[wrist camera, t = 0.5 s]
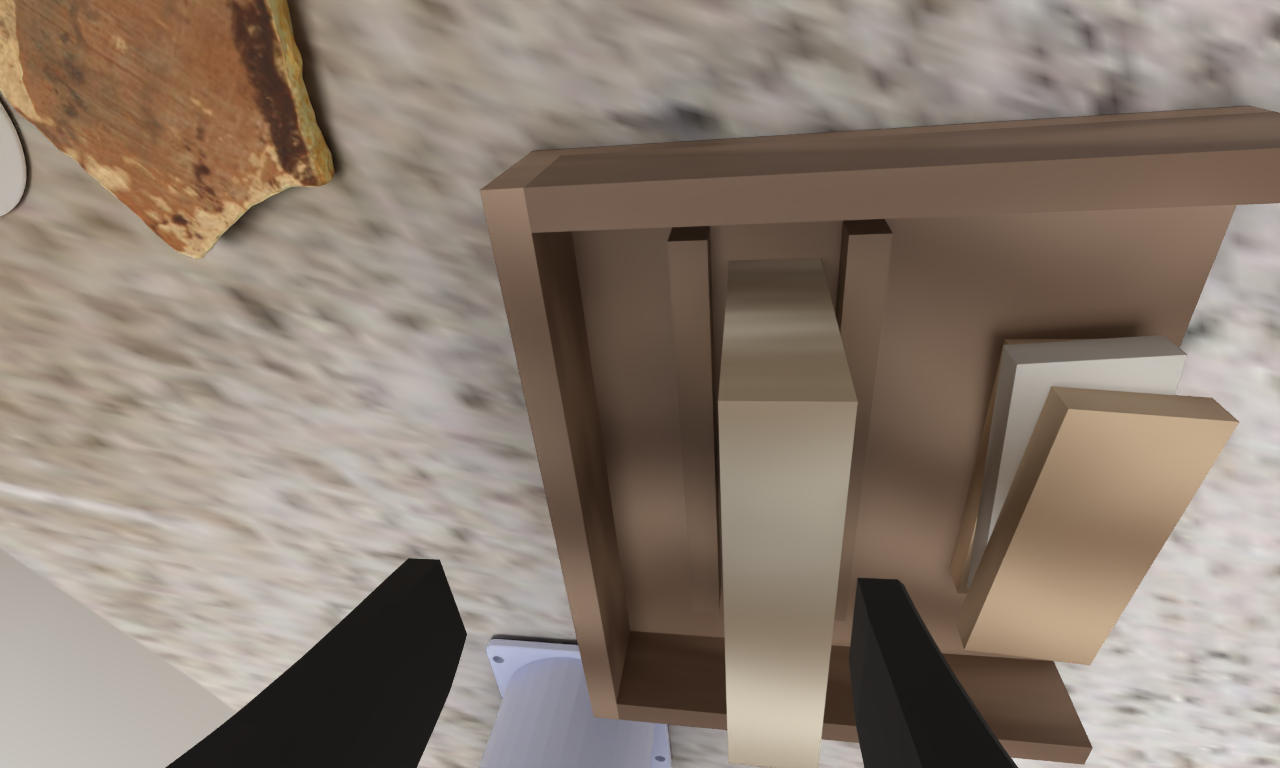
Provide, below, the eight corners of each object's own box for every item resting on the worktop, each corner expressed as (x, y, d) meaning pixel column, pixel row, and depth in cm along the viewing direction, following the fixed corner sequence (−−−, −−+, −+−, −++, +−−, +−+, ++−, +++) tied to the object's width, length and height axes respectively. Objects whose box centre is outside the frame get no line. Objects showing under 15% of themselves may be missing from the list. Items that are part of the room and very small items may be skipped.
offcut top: (1075, 636, 20) (1090, 665, 19) (955, 622, 20) (964, 649, 20) (1212, 397, 15) (1239, 421, 14) (1051, 386, 16) (1068, 408, 15)
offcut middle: (1089, 586, 20) (1104, 613, 19) (967, 585, 21) (976, 610, 20) (1164, 335, 16) (1187, 354, 15) (1003, 345, 16) (1016, 364, 15)
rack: (1038, 658, 25) (1084, 764, 21) (612, 628, 28) (593, 717, 24) (1249, 105, 14) (1402, 141, 11) (532, 151, 17) (479, 190, 14)
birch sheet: (800, 572, 23) (817, 772, 17) (734, 568, 23) (727, 762, 18) (820, 257, 17) (857, 401, 11) (729, 260, 17) (717, 401, 11)
